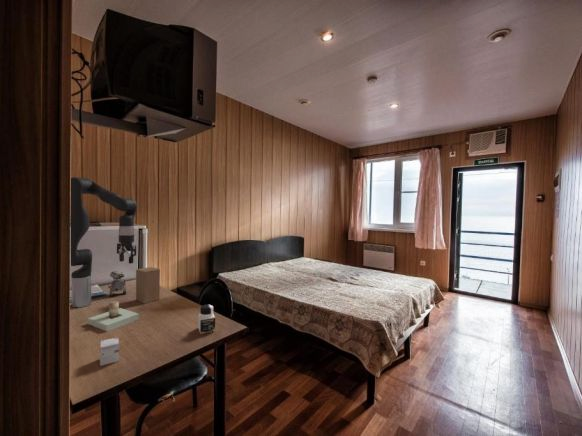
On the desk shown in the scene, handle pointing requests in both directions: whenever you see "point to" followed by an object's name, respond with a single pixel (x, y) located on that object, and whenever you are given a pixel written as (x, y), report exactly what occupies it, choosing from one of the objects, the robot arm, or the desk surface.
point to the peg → (113, 309)
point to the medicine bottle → (206, 319)
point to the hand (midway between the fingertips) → (126, 262)
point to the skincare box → (109, 351)
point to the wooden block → (147, 284)
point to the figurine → (117, 283)
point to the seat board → (113, 320)
